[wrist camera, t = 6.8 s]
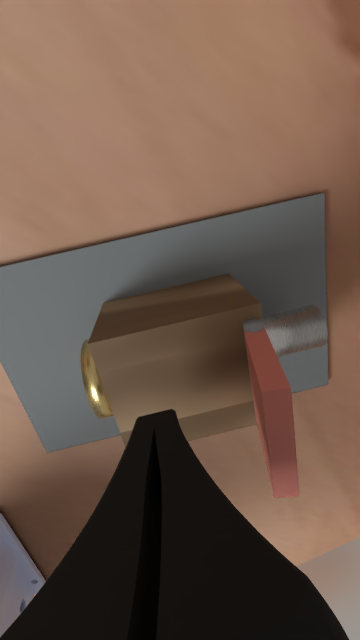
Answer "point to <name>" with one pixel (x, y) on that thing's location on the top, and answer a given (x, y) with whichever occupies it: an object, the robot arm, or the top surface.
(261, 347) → the strip
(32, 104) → the top surface
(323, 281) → the mat
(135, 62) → the top surface
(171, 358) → the block
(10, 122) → the top surface
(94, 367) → the pin
